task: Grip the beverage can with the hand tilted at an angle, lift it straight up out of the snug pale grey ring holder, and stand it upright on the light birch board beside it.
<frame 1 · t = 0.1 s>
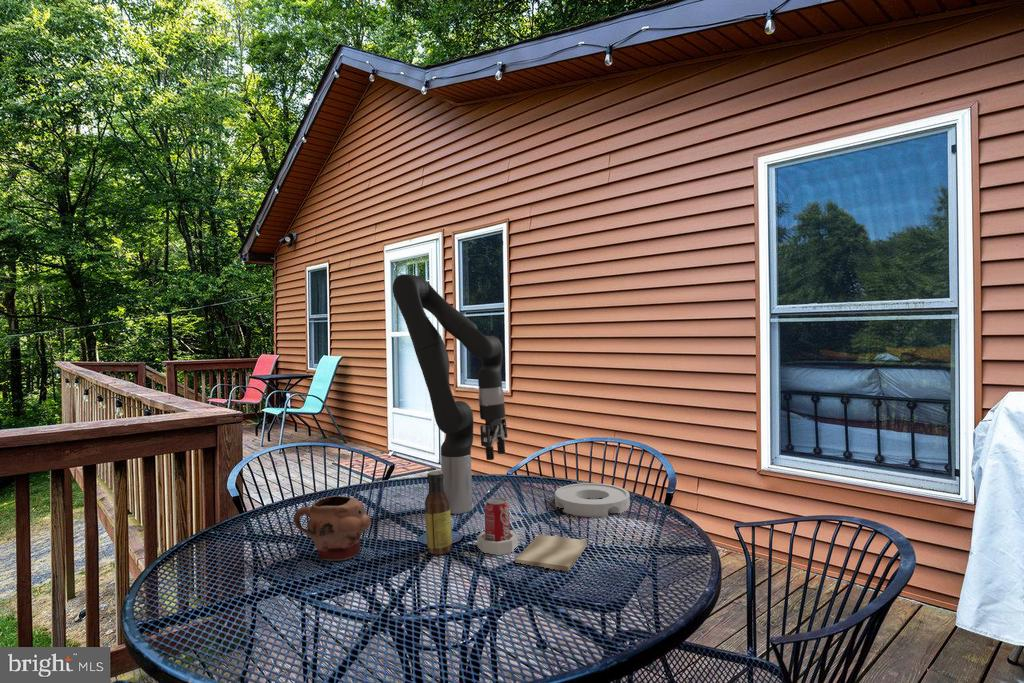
hand: (496, 456, 172), 17 cm above the table, tool pointing down, fingers open, 8 cm apart
can holder: (497, 547, 146), on the table
beverage can: (497, 548, 146), resting in can holder
ashtray: (592, 506, 180), on the table
birch board: (552, 554, 141), on the table
sauce bottle: (439, 551, 145), on the table
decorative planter: (332, 556, 143), on the table
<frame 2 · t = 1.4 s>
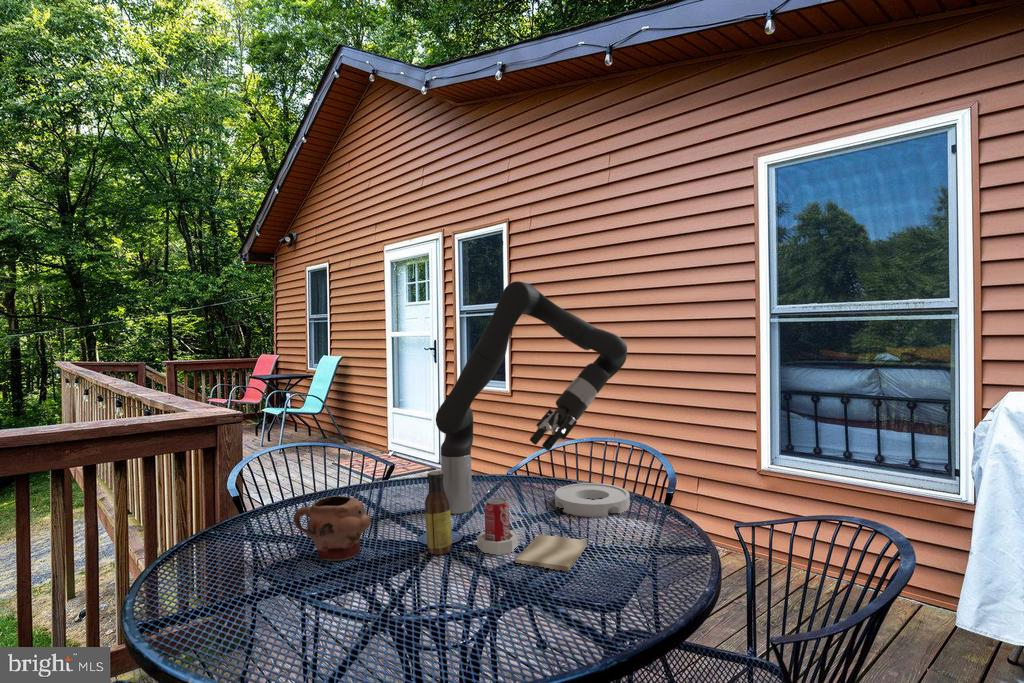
hand: (538, 445, 150), 25 cm above the table, tool tilted 45°, fingers open, 8 cm apart
nothing on the table moved.
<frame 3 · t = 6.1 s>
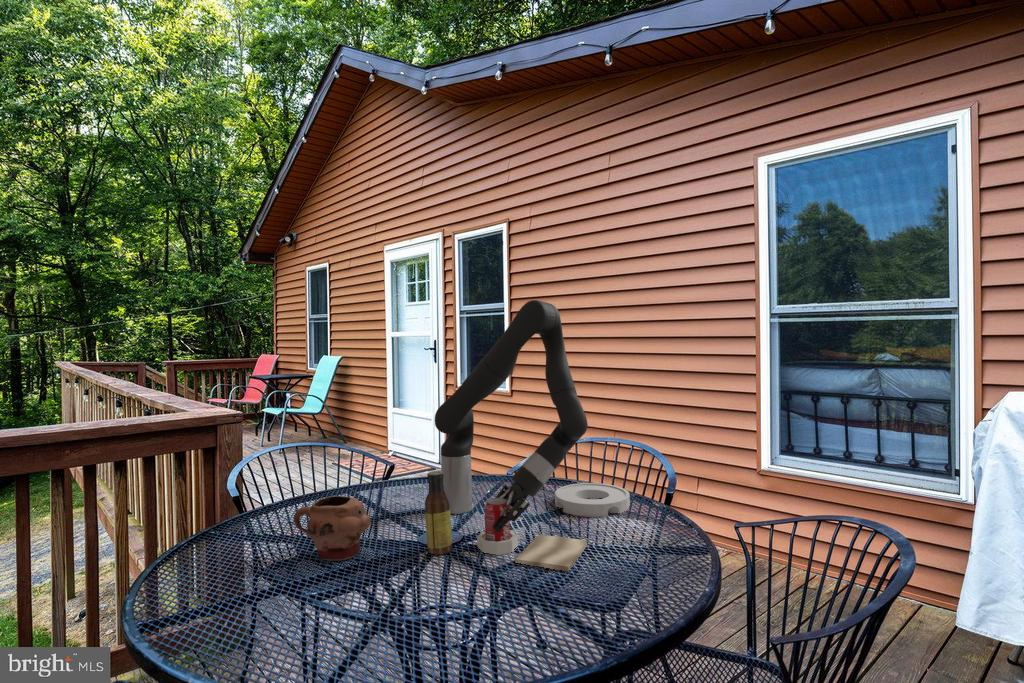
hand: (491, 525, 146), 6 cm above the table, tool tilted 45°, fingers closed on beverage can, 6 cm apart
beverage can: (497, 548, 146), resting in can holder, touching gripper
everything else where it was.
when the fingers open (8 cm above the table, at t = 12.3 s): beverage can drops 1 cm, resting on birch board.
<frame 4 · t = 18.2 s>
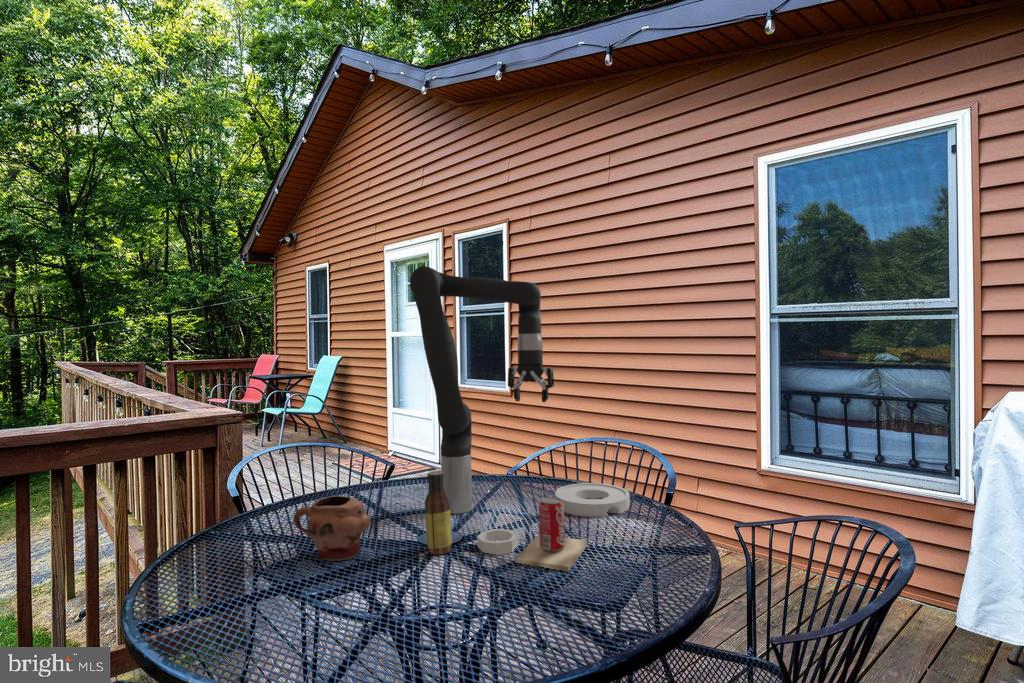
hand: (531, 401, 176), 33 cm above the table, tool pointing down, fingers open, 8 cm apart
beverage can: (552, 549, 142), point 1 cm above the table, touching birch board
everything else where it was.
at the end: beverage can inside the target area on the birch board (0.6 cm from its centre), point 1.0 cm above the birch board's base; beverage can tilted 0°; the gripper is holding nothing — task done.
